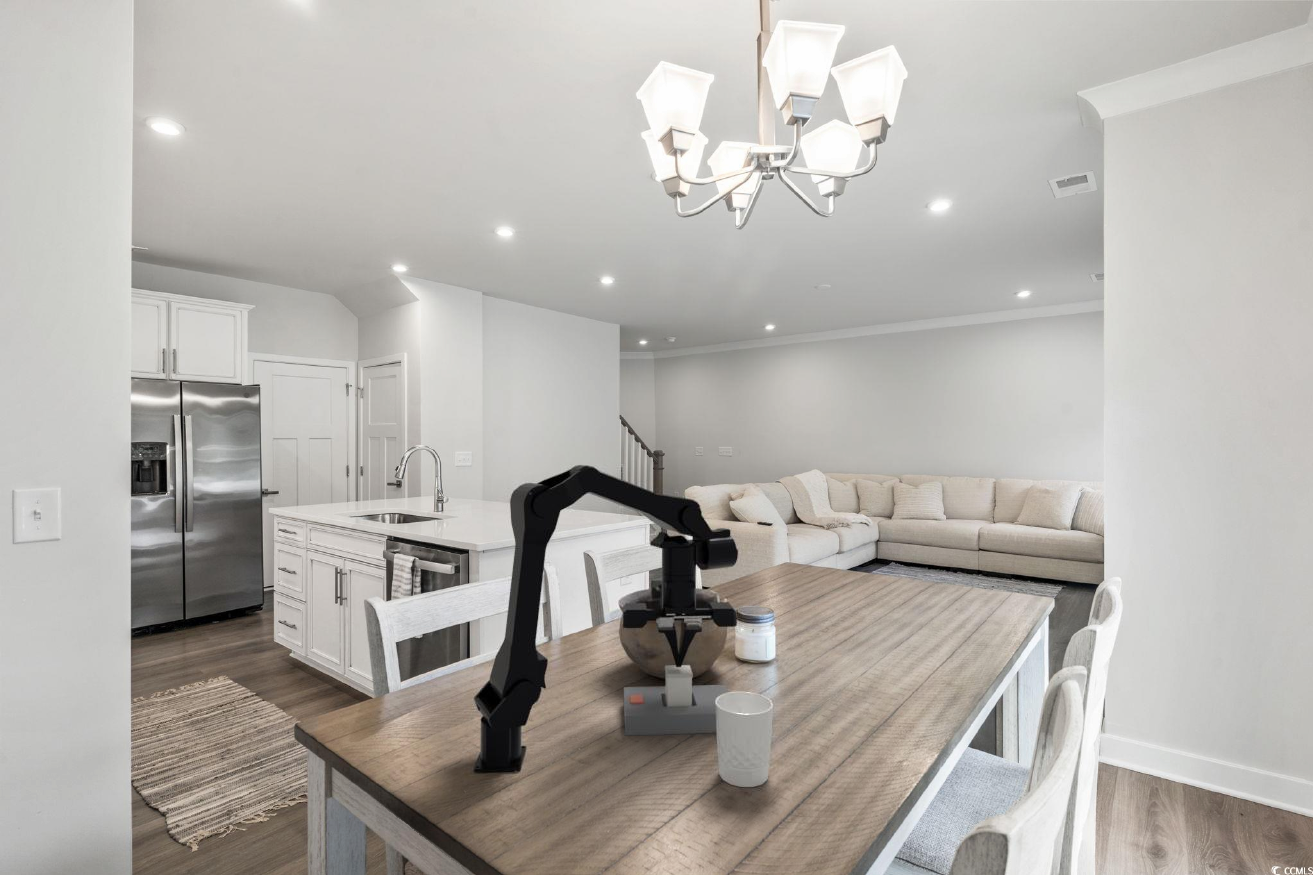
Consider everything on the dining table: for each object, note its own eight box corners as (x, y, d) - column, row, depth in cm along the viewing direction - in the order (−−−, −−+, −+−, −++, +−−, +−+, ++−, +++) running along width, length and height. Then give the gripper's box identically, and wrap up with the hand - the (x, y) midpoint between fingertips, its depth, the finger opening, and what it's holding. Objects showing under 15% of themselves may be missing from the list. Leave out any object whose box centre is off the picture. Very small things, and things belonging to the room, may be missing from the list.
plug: (689, 712, 109) (689, 665, 109) (692, 722, 105) (692, 673, 105) (664, 712, 108) (665, 665, 109) (666, 723, 104) (667, 674, 104)
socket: (739, 732, 101) (739, 711, 101) (625, 735, 100) (625, 714, 100) (725, 701, 113) (725, 683, 113) (623, 704, 112) (623, 685, 112)
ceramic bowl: (733, 694, 116) (733, 612, 117) (614, 694, 116) (615, 611, 117) (720, 654, 139) (720, 585, 139) (620, 654, 138) (621, 585, 139)
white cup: (734, 755, 94) (734, 687, 94) (783, 773, 89) (783, 700, 89) (703, 776, 87) (703, 703, 88) (753, 797, 82) (753, 719, 83)
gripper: (725, 563, 115) (725, 650, 115) (622, 564, 114) (621, 651, 114) (737, 576, 104) (737, 671, 104) (623, 577, 103) (622, 674, 103)
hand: (678, 666), depth 107 cm, fingers closed
